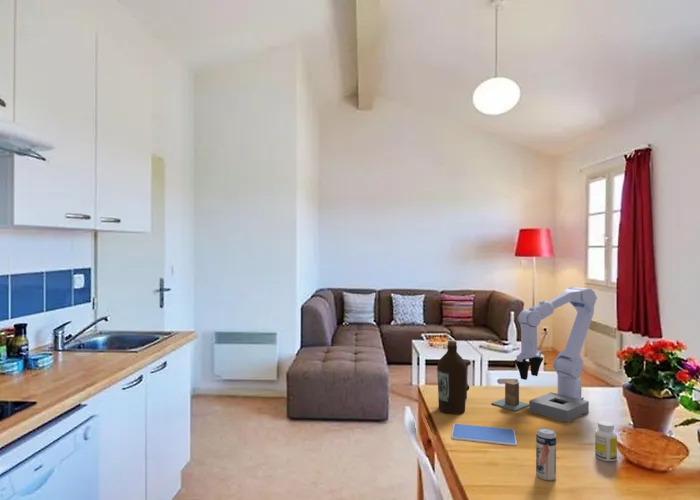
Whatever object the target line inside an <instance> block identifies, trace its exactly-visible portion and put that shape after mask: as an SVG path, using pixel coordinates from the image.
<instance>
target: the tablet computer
mask: <svg viewBox="0 0 700 500" xmlns="http://www.w3.org/2000/svg"><path fill="white" fill-rule="evenodd" d="M450 436H451V437H450V438H451V440H456V441H468V442H477V443H485V444H494V445H495V444H497V445H505V446H512V447H513V446H514V447H515V446H518V443H517V437H516V432H515V429H513V428H505V427H503V428H502V427H496V426H495V427H494V426H483V425H472V424H465V423H463V424H462V423H453V426H452V431H451V435H450Z"/></svg>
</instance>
